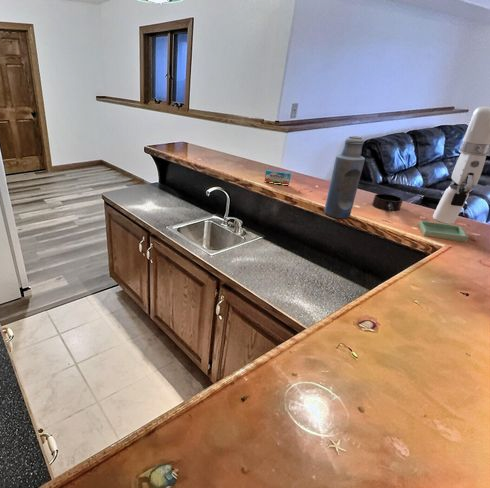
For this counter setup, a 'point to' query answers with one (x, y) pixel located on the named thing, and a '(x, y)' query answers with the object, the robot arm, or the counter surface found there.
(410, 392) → the counter surface
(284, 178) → the teal printed box
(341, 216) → the bottle
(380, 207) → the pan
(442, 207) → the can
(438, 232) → the tray
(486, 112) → the robot arm
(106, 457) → the counter surface
